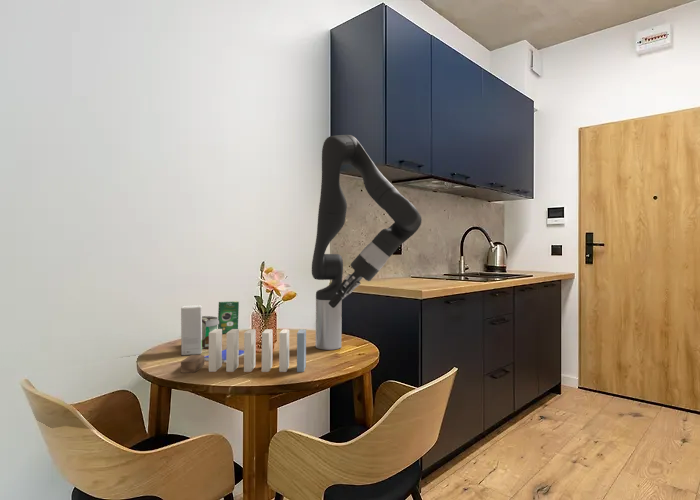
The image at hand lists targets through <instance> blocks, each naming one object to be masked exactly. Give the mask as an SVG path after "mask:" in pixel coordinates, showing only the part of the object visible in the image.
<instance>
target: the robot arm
mask: <svg viewBox="0 0 700 500" xmlns="http://www.w3.org/2000/svg"><path fill="white" fill-rule="evenodd" d="M321 150H322V151H321V182H320V184H321V185H320V188H321V189H320V197H319V204H318V214H317V226H316V236H315V237H316V238H315V242H314V249H313V255H312V261H311V275H312V278H313V279H314V280H319V281H324V280H325V281H329V280H330V281H331V282H330V284H329V285H327V286H326V287H322V288H320V289H318V290H316V293H315V348H316V349H319V350H326V351H329V350H338V349H341V348H342V331H343V330H342V328H343V327H342V323H343V322H342V320H343V319H342V317H343V316H342V312H343V310H342V309H343V308H342V306H343V305H342V303H343V300H344V299H345V298H347V297H348V296H349V295H350V294H351V293H353V292H354V290H355V289H356V288H358V287H359V286H360V285H361V280H362V279H364V280H365V281H367V282H371V280H373V278H374V277H376V275H377V274H378V272H380V270H381V269H382V268H383V267H384V266H385V264H386V263H387V262H388V260H389V259H390V257H392V255H393V254H394V253H396V251H397V250H398V248H399V247H400V246H401V245H403V244H404V243H405V242H406V241H407V240H409V238H411V237H412V236H413V235H414V234H415V233H416V232H417V231H418V230H419V229H420V227H421V225H422V216H421V214H420V212H419V210H418V209H417V207H416V206H415V205H414V204H413V203H412V202H410V200H409V199H408V198H406V197H405V196H404V195H403V194H402V193H400V191H399V190H398V189H397V188H396V187H395V186H394V185H393V184H392V183H391V182H390V181H389V180H388V179H387V178H386V177H385V176H384V175H383V173H382V172H381V171H380V170H379V168H378V167H377V166H376V164H375V162H374V161H373V160H372V158H371V157H370V156H369V154H368V153H367V151H366V150H365V149H364V146H362V143H360V141H359V140H358V139H357V138H356V137H355V136H353V135H352V134H340V135H331V136H328V137H326V139H325V140H324V141H323V145H322V149H321ZM345 165H351V166H352V167H353V168H355V170H357V171H358V173H359V174H360V176H361V177H362V181H363V185H364V188H365V191H366V192H367V194H368V195H369V196H370V198H371V199H373V201H374V202H375V203H376V204H377V205H378V206H379V207H380V208H381V209H382V210H383V211H385V212H386V213H387V215H388V216H389V217H390V218H391V219H392V221H393V223H392V224H391V225H390V226H389V227H388V228H383V229H381V230H380V231H379V232H378V233H377V234H376V236H375V237H373V239H372V240H371V241H370V242H369V243H368V244H367V245H365V247H364V248H363V249H362V250H361V251H360V252H359V254H358V255H357V256H356V257H355V258H354V260H353V261H352V262H351V263H350V267H351V268H352V269H353V270H354V271H353V272H352V273H351V274H350V273H349V274H348V275H346V277H345V278H344V279H343V273H344V262H343V261H344V260H343V257H342V255H341V254H338V253H326V251H327V248H328V246H329V245H330V243H331V242H332V241H333V239H334V238H335V237H336V236H337V235H338V234H339V232H341V230H342V228H344V225H345V223H346V217H347V208H348V203H347V199H346V197H345V194H344V192H343V190H342V186H341V183H340V178H341V177H340V176H341V171H342V170H341V168H342V166H345Z"/></svg>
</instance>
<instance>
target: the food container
mask: <svg viewBox="0 0 700 500" xmlns="http://www.w3.org/2000/svg"><path fill="white" fill-rule="evenodd" d="M218 324H219V320H218V316H213V315H212V316H211V315H205V316H203V315H202V349H204V350H209V332H211V331H213V330H214V329H218Z"/></svg>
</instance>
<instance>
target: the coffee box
mask: <svg viewBox="0 0 700 500" xmlns="http://www.w3.org/2000/svg"><path fill="white" fill-rule="evenodd" d="M239 304H240V301H237V300H235V301H218V310H217V311H218V313H217V318H218V320H219V324H218V325H217V329H222V335H225V333H226V334H227V332H229V331H230V330H232V329H239V314H240V312H239V310H240V308H239V307H240V305H239Z"/></svg>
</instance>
